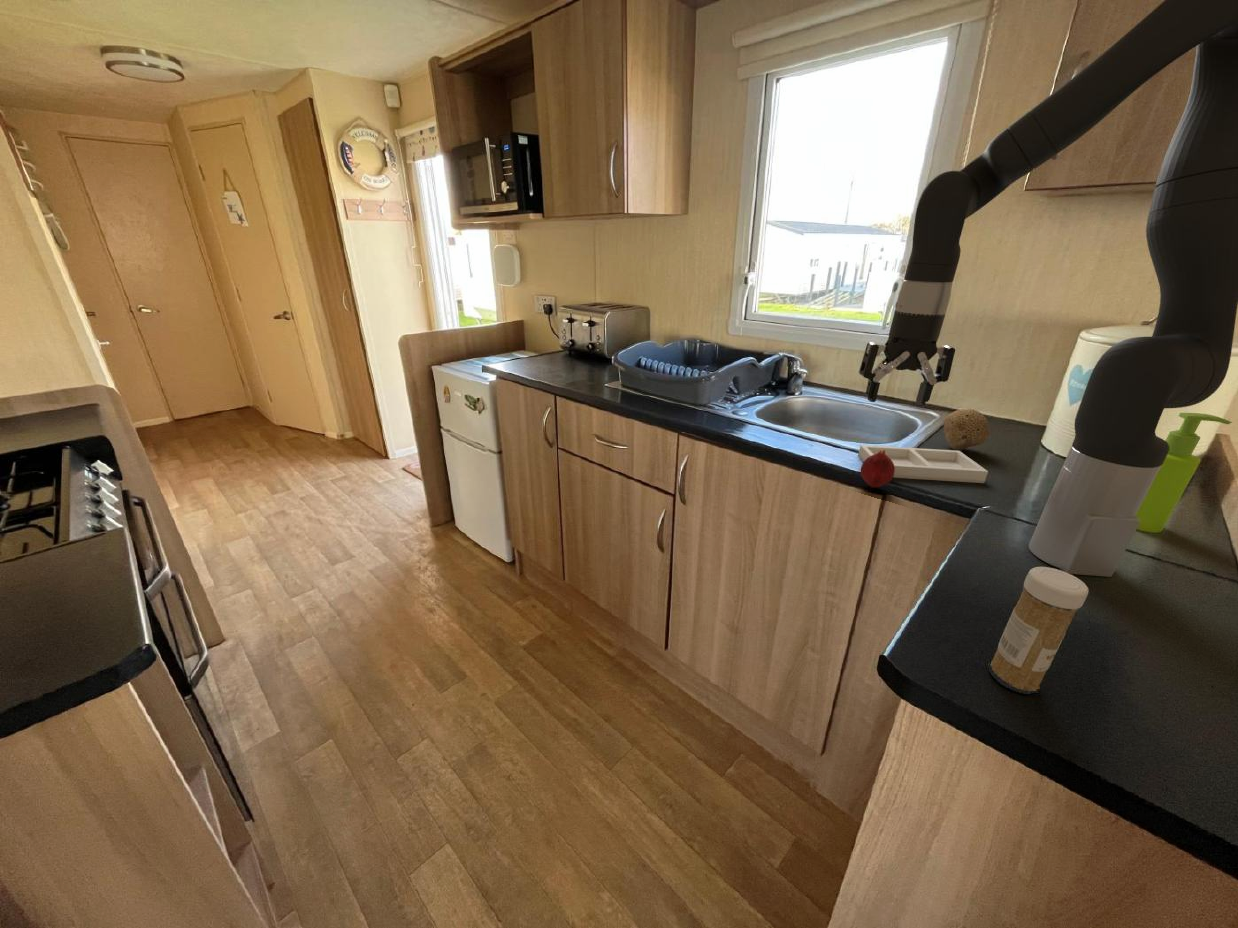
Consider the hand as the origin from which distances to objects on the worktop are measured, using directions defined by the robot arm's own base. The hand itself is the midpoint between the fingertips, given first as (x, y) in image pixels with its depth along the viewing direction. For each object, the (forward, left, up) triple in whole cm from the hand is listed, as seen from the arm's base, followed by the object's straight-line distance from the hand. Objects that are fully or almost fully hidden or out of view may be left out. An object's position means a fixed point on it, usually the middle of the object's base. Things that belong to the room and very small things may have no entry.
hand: (895, 402), depth 88 cm
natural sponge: (+24, -28, -18) cm, 41 cm away
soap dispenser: (-8, -42, -18) cm, 46 cm away
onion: (0, 0, -18) cm, 18 cm away
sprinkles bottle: (-47, +2, -18) cm, 50 cm away
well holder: (+11, -13, -17) cm, 24 cm away
